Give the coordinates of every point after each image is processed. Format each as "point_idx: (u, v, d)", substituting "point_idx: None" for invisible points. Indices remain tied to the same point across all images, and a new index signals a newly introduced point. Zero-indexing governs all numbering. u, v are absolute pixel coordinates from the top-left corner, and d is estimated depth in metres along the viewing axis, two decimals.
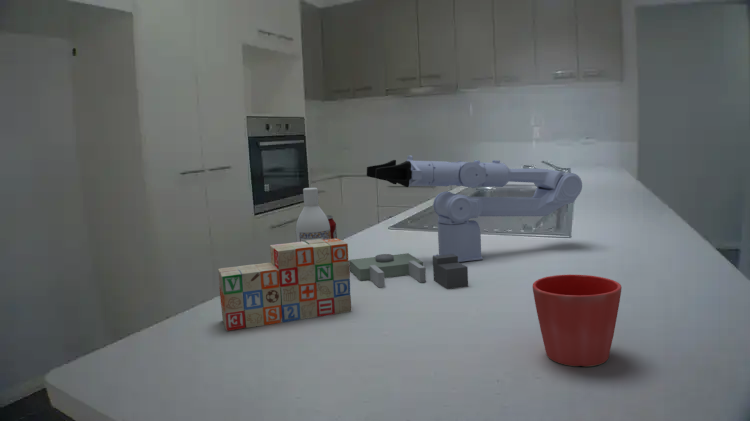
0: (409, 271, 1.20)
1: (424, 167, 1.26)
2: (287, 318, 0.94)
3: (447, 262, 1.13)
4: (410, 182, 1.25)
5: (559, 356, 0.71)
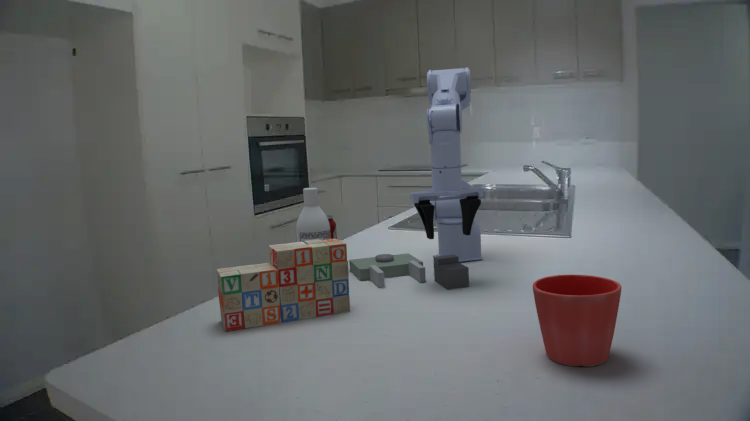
0: (409, 271, 1.20)
1: None
2: (286, 318, 0.94)
3: (448, 263, 1.12)
4: None
5: (559, 356, 0.71)
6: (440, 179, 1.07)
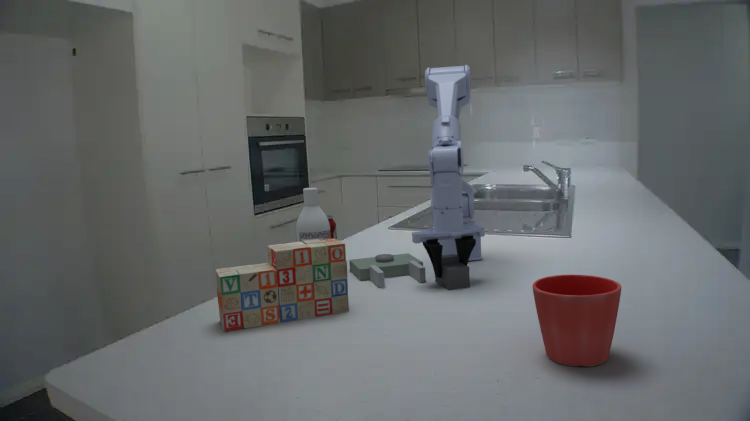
0: (409, 271, 1.20)
1: (462, 217, 1.10)
2: (285, 318, 0.94)
3: (448, 262, 1.12)
4: None
5: (559, 356, 0.71)
6: (441, 220, 1.08)
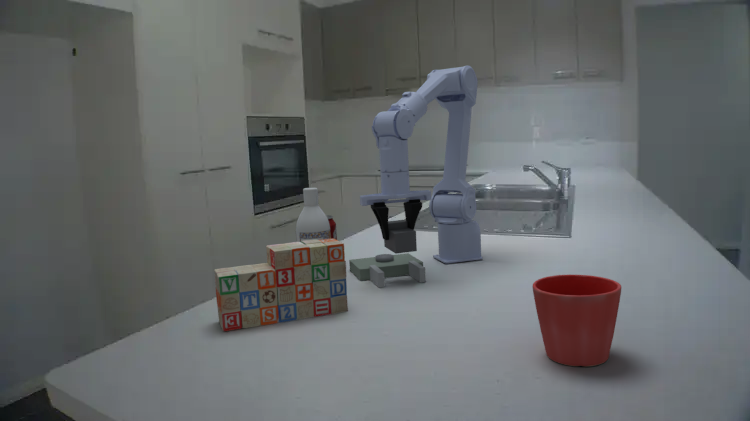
0: (409, 271, 1.20)
1: (408, 180, 1.12)
2: (284, 318, 0.94)
3: (397, 227, 1.14)
4: None
5: (559, 356, 0.71)
6: (388, 183, 1.11)
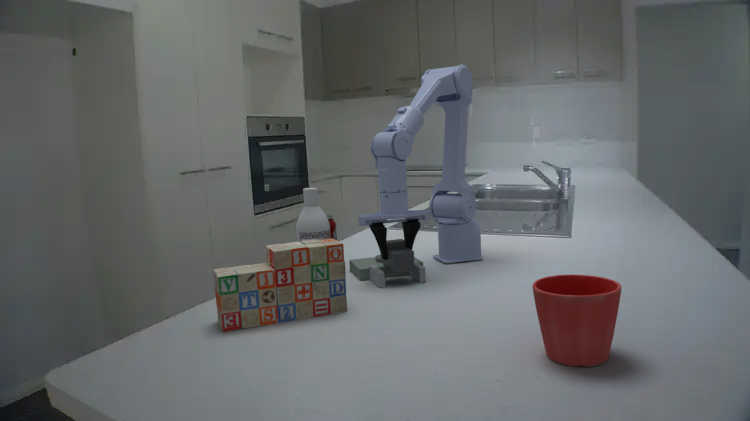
0: None
1: (407, 200, 1.13)
2: (283, 318, 0.94)
3: (395, 247, 1.15)
4: None
5: (559, 356, 0.71)
6: (386, 203, 1.12)
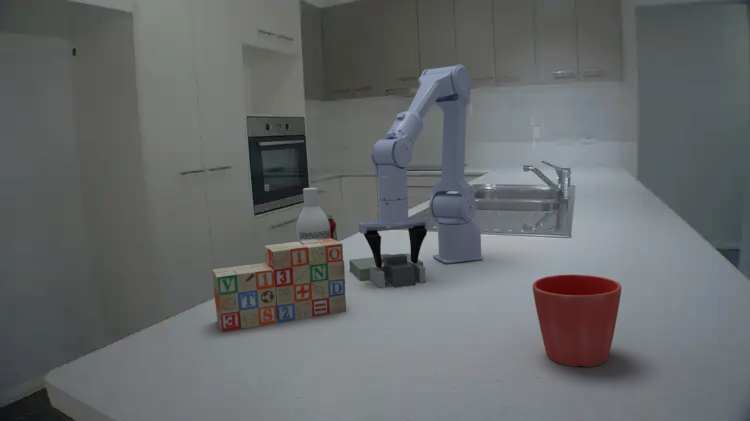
0: None
1: (407, 208, 1.13)
2: (282, 318, 0.94)
3: (396, 261, 1.16)
4: None
5: (559, 356, 0.71)
6: (386, 211, 1.12)
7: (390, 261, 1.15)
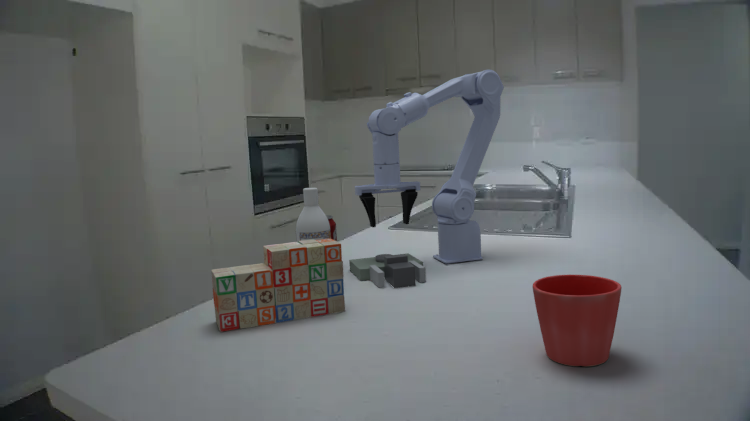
0: None
1: (399, 172, 1.23)
2: (281, 318, 0.94)
3: (397, 262, 1.15)
4: None
5: (559, 356, 0.71)
6: (380, 174, 1.21)
7: (391, 261, 1.15)
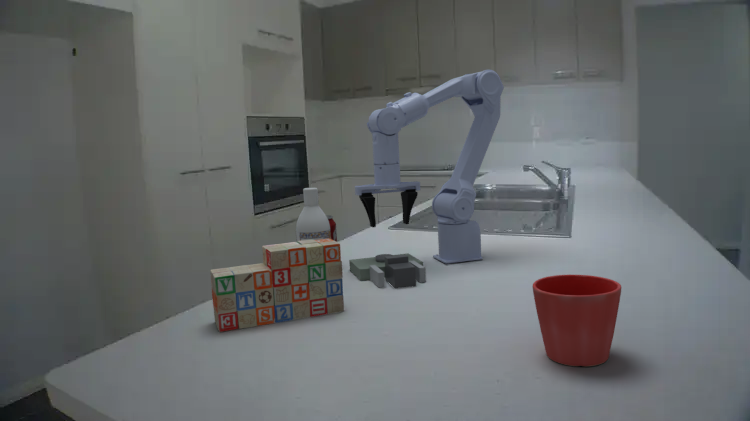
0: None
1: (399, 172, 1.23)
2: (280, 318, 0.94)
3: (397, 262, 1.15)
4: None
5: (559, 356, 0.71)
6: (380, 174, 1.21)
7: (391, 262, 1.15)
